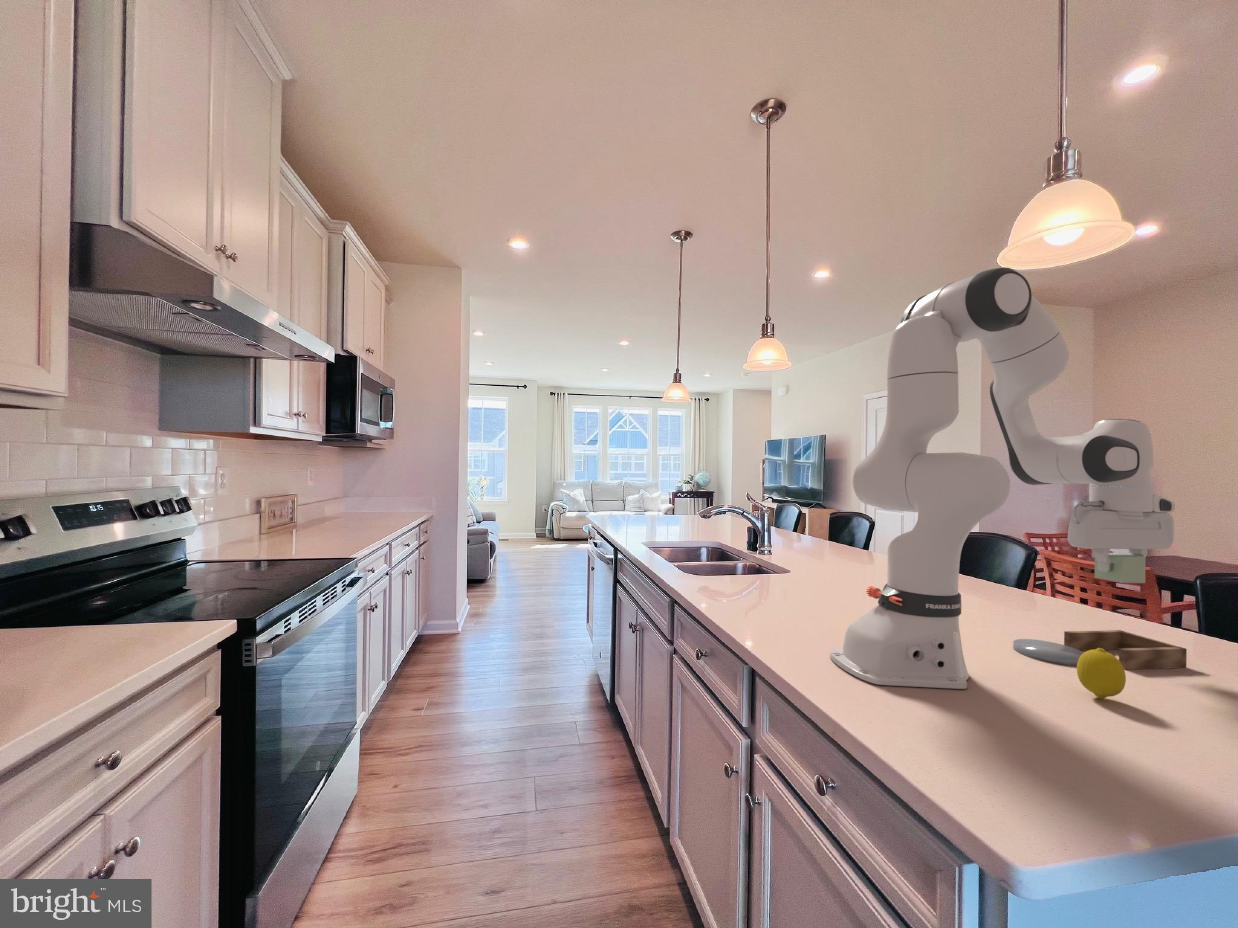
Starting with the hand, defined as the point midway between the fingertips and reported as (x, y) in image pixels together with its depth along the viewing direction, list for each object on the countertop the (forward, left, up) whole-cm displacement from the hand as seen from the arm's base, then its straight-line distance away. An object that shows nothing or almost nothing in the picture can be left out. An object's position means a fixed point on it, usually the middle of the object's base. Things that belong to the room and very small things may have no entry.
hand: (1119, 571), depth 96 cm
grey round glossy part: (-13, +3, -17) cm, 21 cm away
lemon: (-24, -15, -17) cm, 34 cm away
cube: (0, 0, -2) cm, 2 cm away
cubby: (0, 0, -17) cm, 17 cm away
